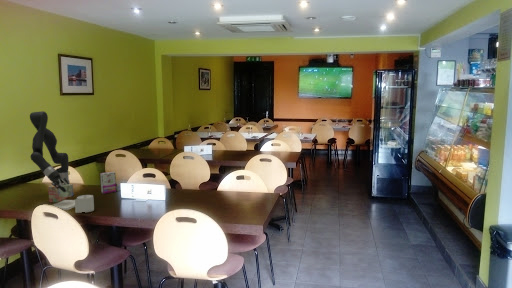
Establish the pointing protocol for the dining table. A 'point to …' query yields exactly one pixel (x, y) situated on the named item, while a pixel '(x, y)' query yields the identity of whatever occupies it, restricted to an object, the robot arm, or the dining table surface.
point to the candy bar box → (108, 182)
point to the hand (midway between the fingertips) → (67, 190)
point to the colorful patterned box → (57, 193)
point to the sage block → (67, 192)
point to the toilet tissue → (84, 204)
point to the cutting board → (65, 204)
